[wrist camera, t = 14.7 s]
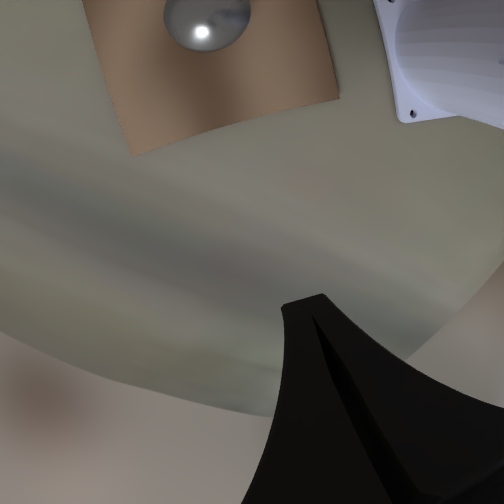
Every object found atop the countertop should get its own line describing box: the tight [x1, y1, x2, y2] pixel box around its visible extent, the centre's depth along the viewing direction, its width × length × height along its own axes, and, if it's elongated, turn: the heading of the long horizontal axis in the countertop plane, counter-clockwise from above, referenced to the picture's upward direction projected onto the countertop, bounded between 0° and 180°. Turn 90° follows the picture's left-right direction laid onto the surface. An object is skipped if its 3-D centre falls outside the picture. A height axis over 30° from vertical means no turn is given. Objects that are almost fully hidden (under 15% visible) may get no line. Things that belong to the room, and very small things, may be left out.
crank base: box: [82, 0, 340, 157], centre depth 12 cm, size 11×11×1 cm
